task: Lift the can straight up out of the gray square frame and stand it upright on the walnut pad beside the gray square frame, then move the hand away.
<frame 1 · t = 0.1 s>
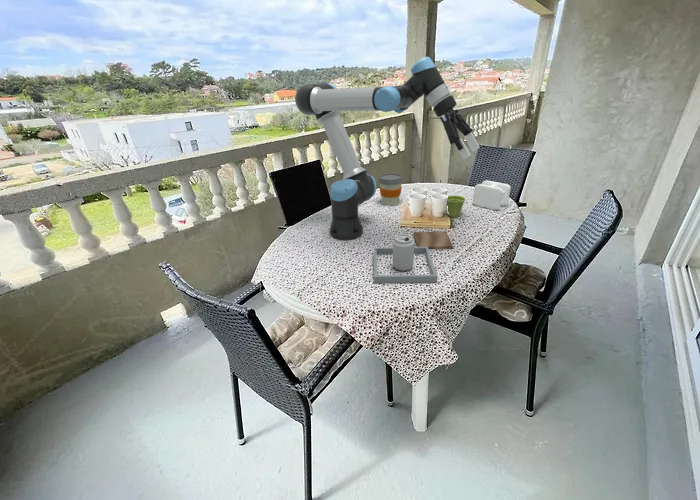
hand: (471, 153, 112), 36 cm above the table, tool tilted 35°, fingers open, 13 cm apart
reusable coffee cup: (390, 203, 175), on the table
gray square frame: (402, 266, 115), on the table
can: (402, 267, 115), resting in gray square frame
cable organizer: (488, 206, 164), on the table
plant pot: (453, 215, 155), on the table
pad: (432, 241, 131), on the table
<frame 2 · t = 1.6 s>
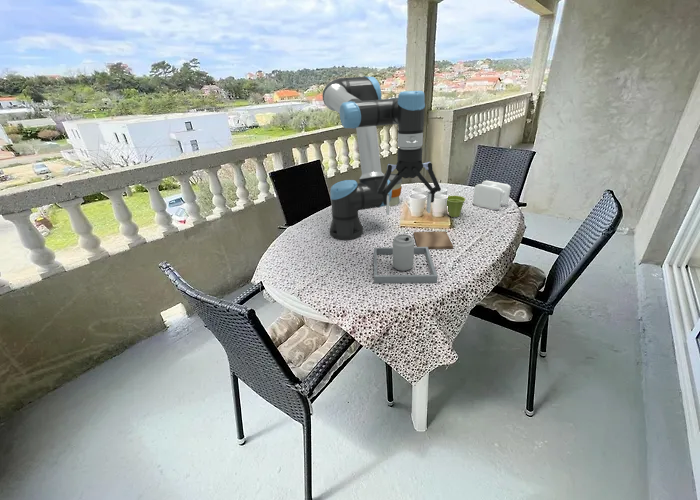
hand: (407, 212, 105), 21 cm above the table, tool pointing down, fingers open, 13 cm apart
nothing on the table moved.
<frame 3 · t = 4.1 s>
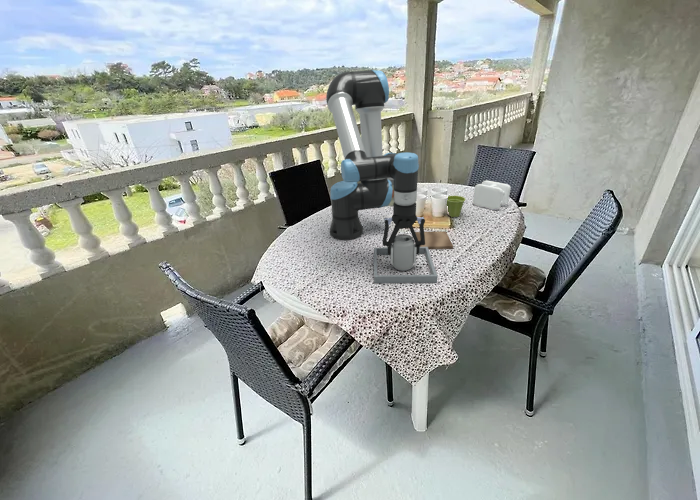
hand: (402, 261, 114), 2 cm above the table, tool pointing down, fingers closed on can, 7 cm apart
can: (402, 267, 115), resting in gray square frame, touching gripper
everything else where it was.
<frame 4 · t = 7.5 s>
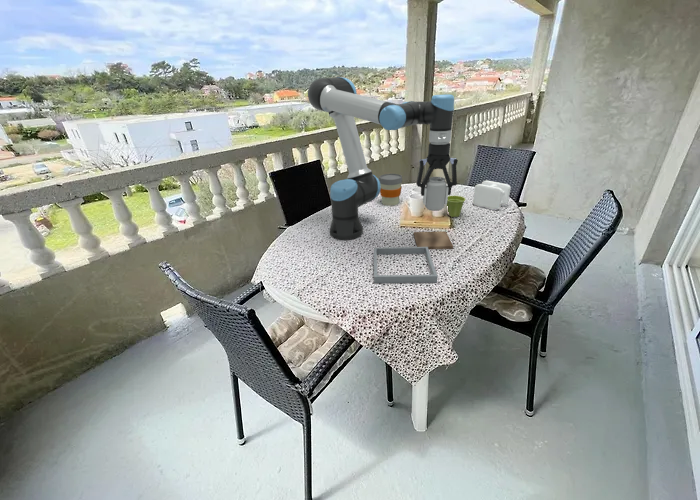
hand: (434, 203, 123), 17 cm above the table, tool pointing down, fingers closed on can, 7 cm apart
can: (434, 208, 124), point 15 cm above the table, touching gripper
everything else where it was.
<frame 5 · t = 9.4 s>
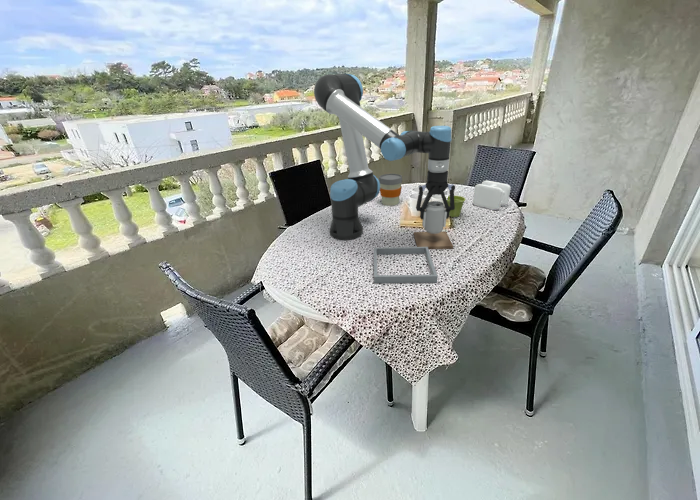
hand: (433, 225, 128), 7 cm above the table, tool pointing down, fingers closed on can, 7 cm apart
can: (433, 231, 129), point 5 cm above the table, touching gripper
everything else where it was.
when the fingers open (4 cm above the table, at t = 10.9 s): can stays where it is, resting on pad.
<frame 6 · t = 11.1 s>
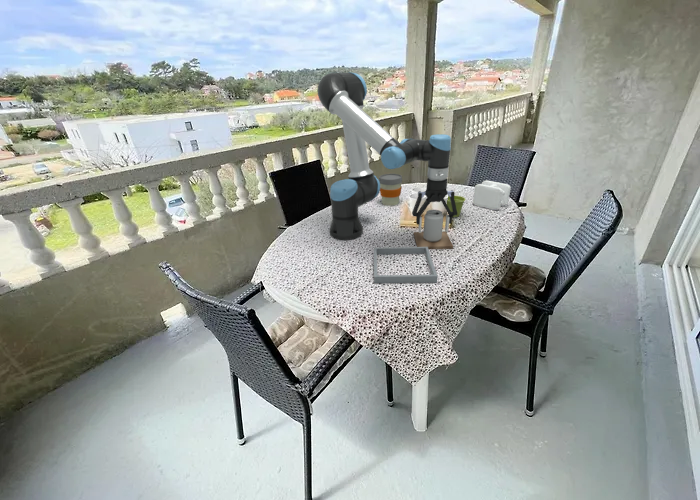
hand: (433, 231, 129), 5 cm above the table, tool pointing down, fingers open, 10 cm apart
can: (432, 239, 131), point 1 cm above the table, touching pad
everything else where it was.
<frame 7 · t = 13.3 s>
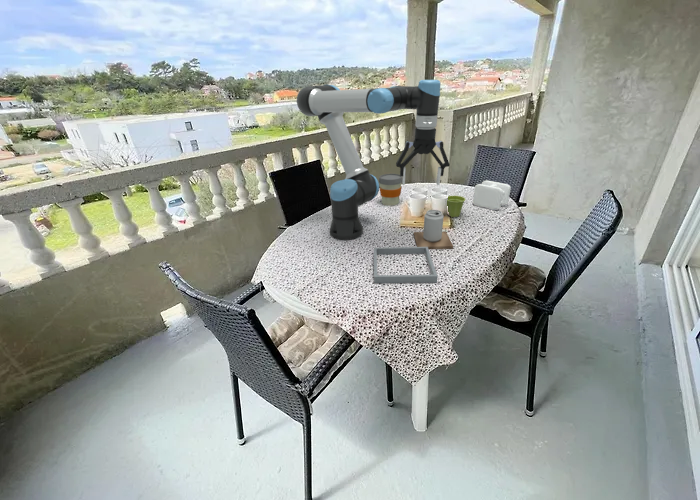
hand: (420, 184, 125), 23 cm above the table, tool pointing down, fingers open, 13 cm apart
nothing on the table moved.
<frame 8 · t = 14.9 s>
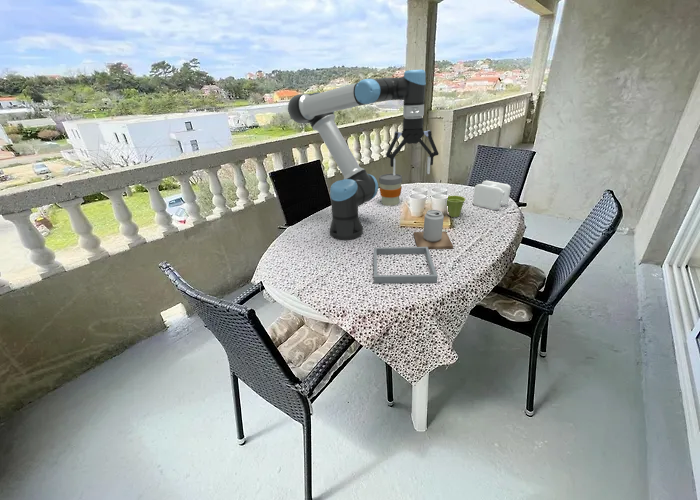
hand: (411, 174, 126), 27 cm above the table, tool pointing down, fingers open, 13 cm apart
nothing on the table moved.
at the end: can inside the target area on the pad (0.1 cm from its centre), point 1.0 cm above the pad's base; can tilted 0°; the gripper is holding nothing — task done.
